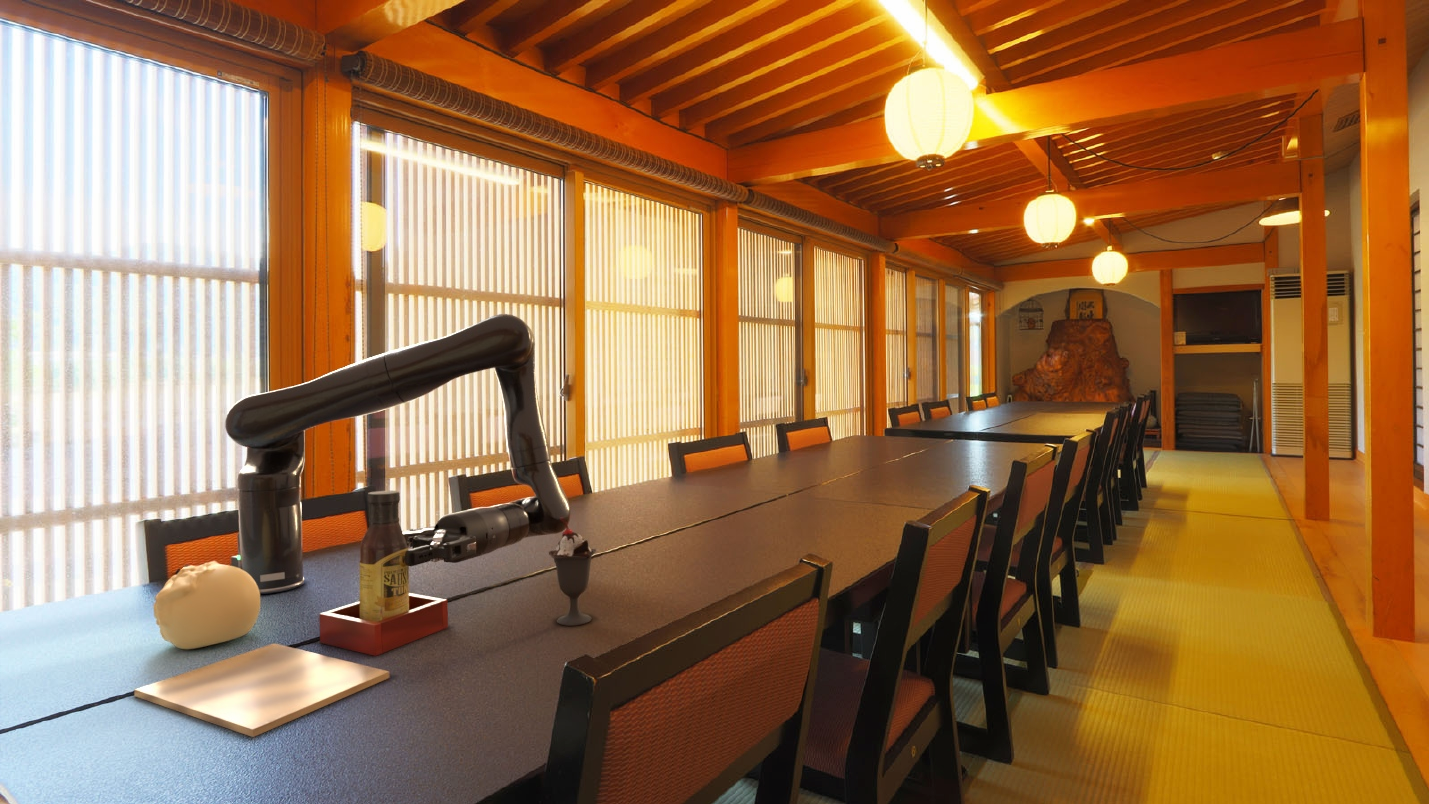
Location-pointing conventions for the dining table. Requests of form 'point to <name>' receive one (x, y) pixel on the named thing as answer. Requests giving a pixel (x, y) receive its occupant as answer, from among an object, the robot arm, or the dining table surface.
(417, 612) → the holder
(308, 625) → the dining table surface
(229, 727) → the mat
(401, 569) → the sauce bottle
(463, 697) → the dining table surface
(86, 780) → the dining table surface
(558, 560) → the sundae
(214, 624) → the tan rounded lump
